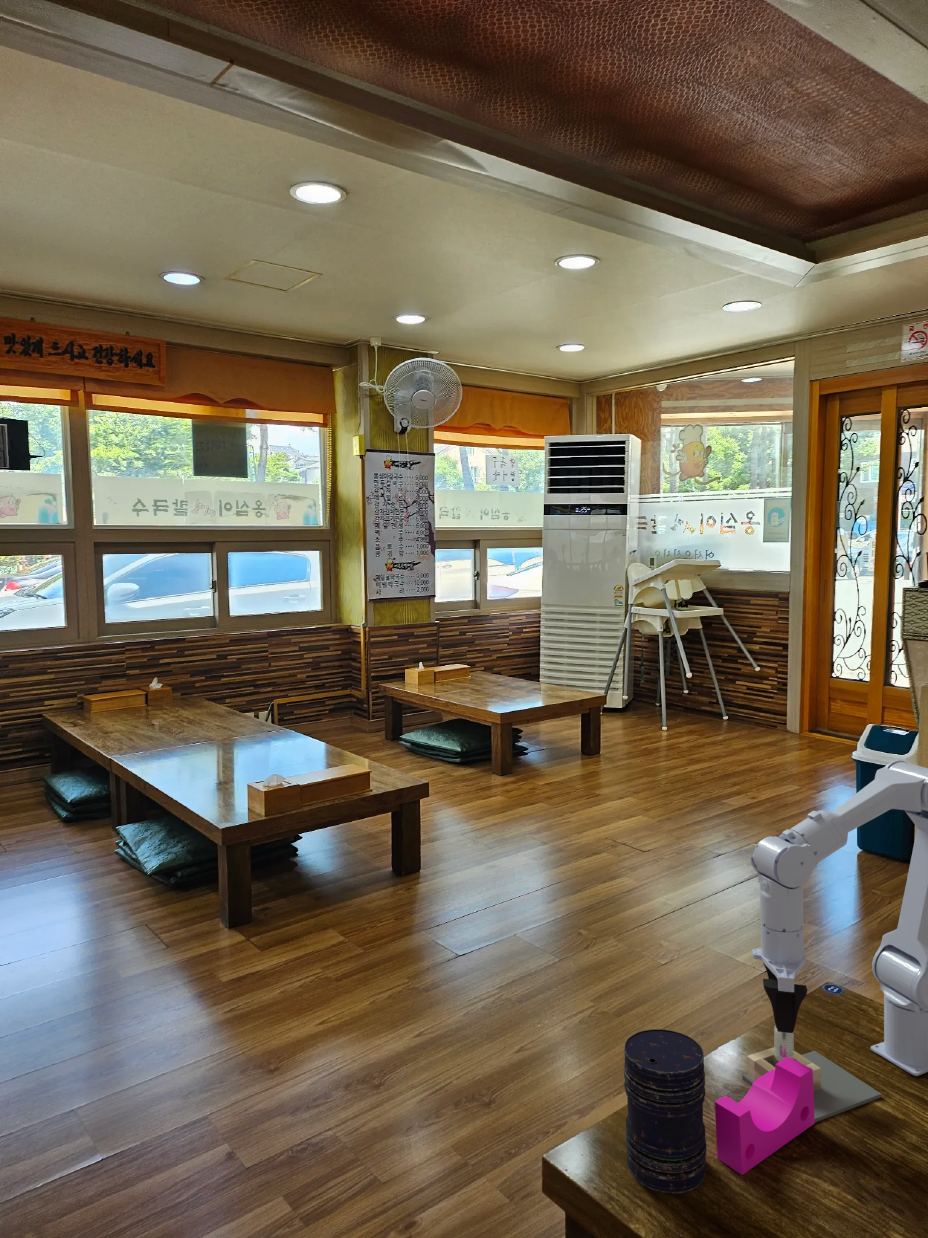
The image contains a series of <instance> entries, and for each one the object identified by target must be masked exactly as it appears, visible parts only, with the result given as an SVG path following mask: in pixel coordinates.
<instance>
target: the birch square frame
mask: <svg viewBox="0 0 928 1238" xmlns="http://www.w3.org/2000/svg"><path fill="white" fill-rule="evenodd" d="M802 1055H803V1054H800V1053H799V1052H797V1051H795V1050H794V1060H796V1061H798V1062H800V1063H802V1064H803V1065H805V1066H807V1067H809V1068H811V1069H813V1092H814V1091H817V1090H819V1089H821V1068H820V1067H818V1066H817V1065H815V1064H814V1063H812V1062H811V1061H809V1060H808V1059H806V1058H805V1057H803V1056H802ZM746 1067H747V1068H746V1070H747V1071H746V1074H747V1076H748V1077H750V1078H751V1079H752V1080H753V1081H755V1080H756V1079H758V1078H760V1077H761V1076H763V1075H764V1074H766V1073H768V1072H769V1071H771V1070H772V1069H773V1070H775V1067H774V1046H773V1047H770V1048H767V1049H764V1050H761V1051H758V1052H755V1053H751V1054H749V1055H746Z"/></svg>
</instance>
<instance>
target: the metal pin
mask: <svg viewBox="0 0 928 1238" xmlns="http://www.w3.org/2000/svg"><path fill="white" fill-rule="evenodd" d="M773 1033H774V1035H773V1036H774V1037H773V1038H774V1040H773V1045H774V1046H773V1047H774V1067H775V1064H776V1063H778V1062H780V1061H781V1060H783V1059H785V1058H786V1057H790V1058H792V1059H794V1051H795V1048H794V1047H795V1046H794V1045H795V1043H794V1042H795V1041H794V1040H795V1037H794V1035H795V1034H794V1032H793V1033H786V1032H778V1031H777V1028H776V1025H775V1024H774V1027H773Z"/></svg>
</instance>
